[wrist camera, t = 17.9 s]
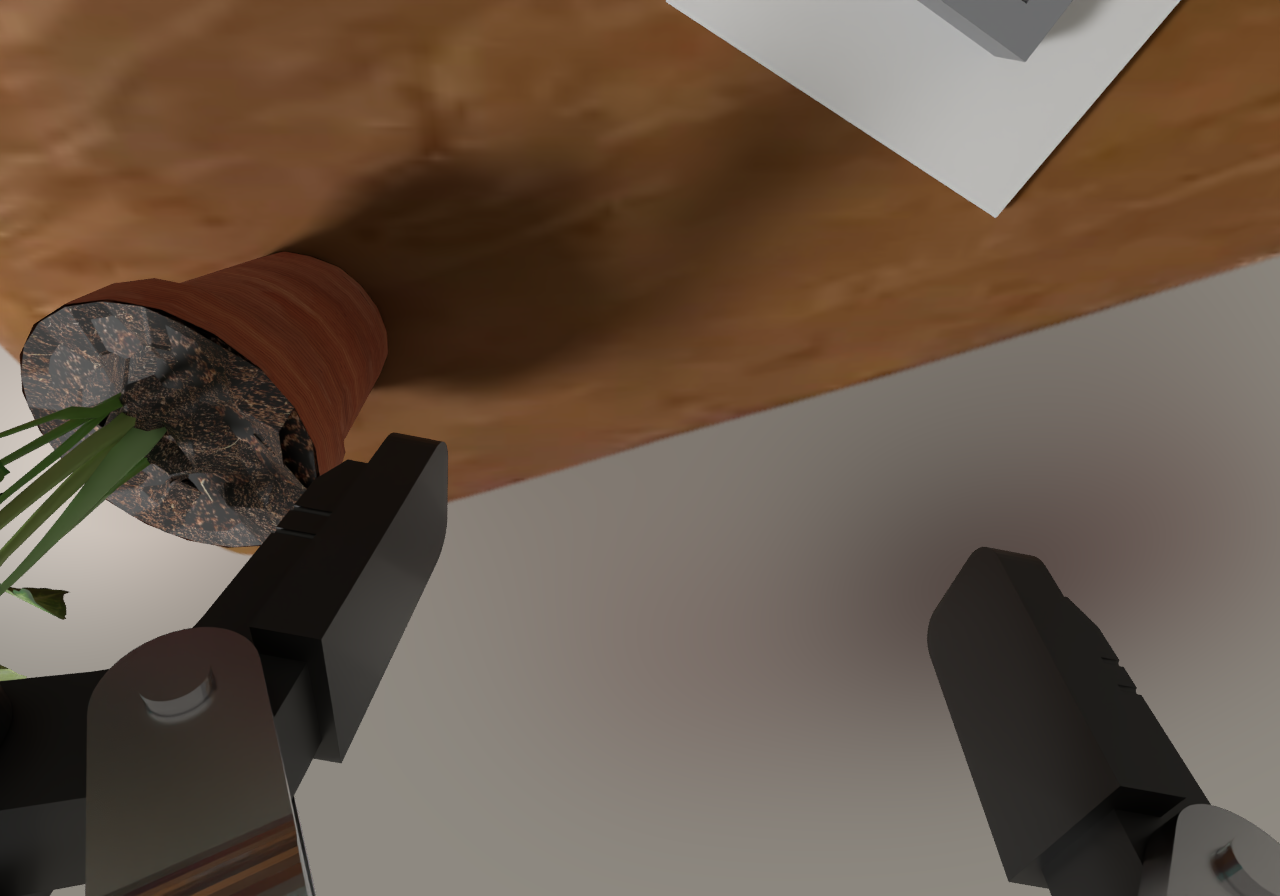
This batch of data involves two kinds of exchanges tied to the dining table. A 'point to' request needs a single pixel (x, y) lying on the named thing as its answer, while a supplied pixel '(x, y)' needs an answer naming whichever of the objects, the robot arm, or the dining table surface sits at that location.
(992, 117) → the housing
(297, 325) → the potted plant
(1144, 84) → the dining table surface
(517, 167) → the dining table surface
